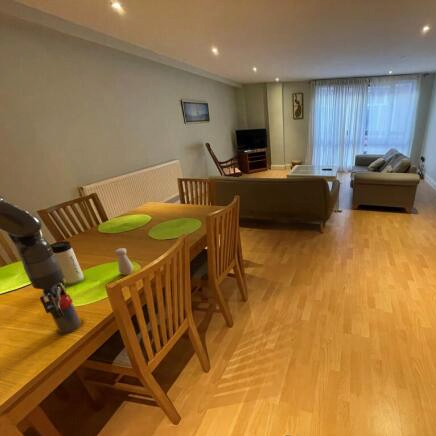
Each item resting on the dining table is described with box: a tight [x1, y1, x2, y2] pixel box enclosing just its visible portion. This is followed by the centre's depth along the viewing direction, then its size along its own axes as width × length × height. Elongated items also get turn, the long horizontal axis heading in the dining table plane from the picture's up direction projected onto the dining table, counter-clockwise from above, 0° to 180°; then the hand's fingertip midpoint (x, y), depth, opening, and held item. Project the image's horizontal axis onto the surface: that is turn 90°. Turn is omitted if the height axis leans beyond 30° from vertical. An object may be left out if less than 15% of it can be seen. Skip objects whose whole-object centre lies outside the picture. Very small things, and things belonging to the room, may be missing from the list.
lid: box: [49, 293, 73, 314], centre depth 82 cm, size 6×6×2 cm
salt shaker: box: [114, 247, 134, 276], centre depth 114 cm, size 6×6×13 cm
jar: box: [49, 302, 82, 334], centre depth 84 cm, size 6×6×11 cm
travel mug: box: [49, 240, 85, 286], centre depth 107 cm, size 6×7×20 cm
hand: (62, 309), depth 83 cm, fingers open, 8 cm apart
